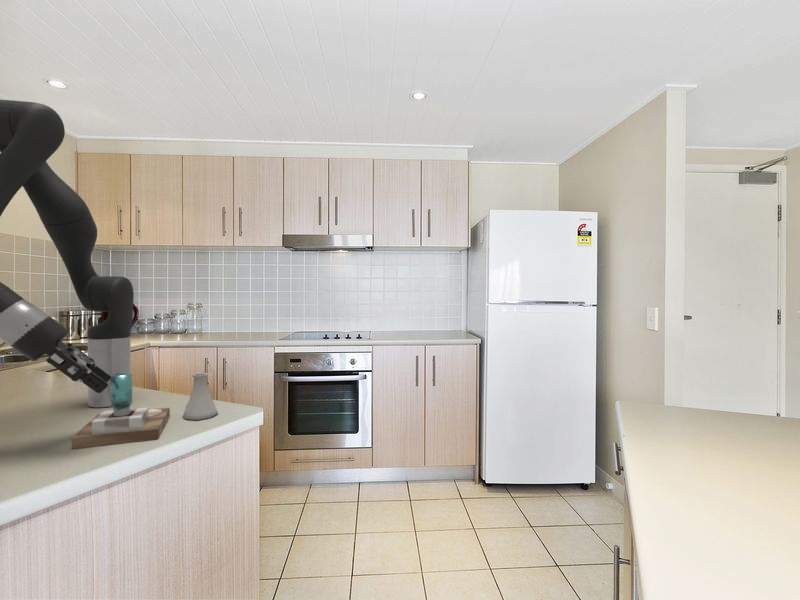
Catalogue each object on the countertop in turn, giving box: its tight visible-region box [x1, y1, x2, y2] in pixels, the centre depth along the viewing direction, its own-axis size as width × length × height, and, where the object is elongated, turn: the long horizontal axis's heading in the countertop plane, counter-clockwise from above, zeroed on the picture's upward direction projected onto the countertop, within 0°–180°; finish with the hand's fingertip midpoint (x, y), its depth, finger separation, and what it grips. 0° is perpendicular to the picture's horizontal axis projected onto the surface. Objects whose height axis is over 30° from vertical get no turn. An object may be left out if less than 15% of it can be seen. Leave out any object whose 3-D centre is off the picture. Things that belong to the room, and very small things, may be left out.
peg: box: [110, 372, 133, 418], centre depth 84 cm, size 4×4×10 cm
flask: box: [182, 372, 219, 421], centre depth 99 cm, size 7×7×10 cm
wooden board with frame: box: [71, 406, 171, 450], centre depth 88 cm, size 17×14×4 cm
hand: (105, 385), depth 83 cm, fingers open, 8 cm apart
